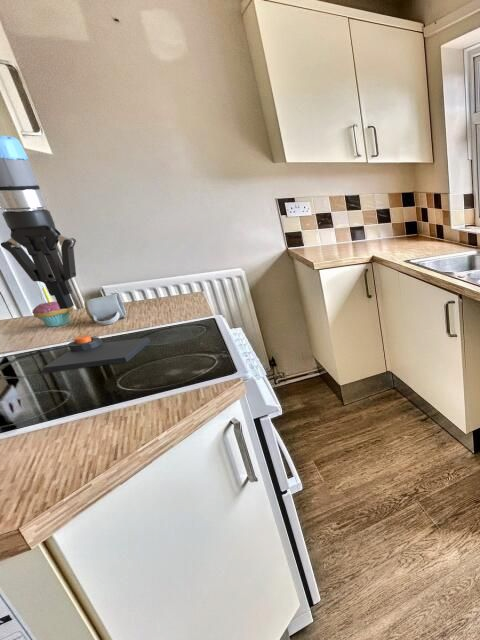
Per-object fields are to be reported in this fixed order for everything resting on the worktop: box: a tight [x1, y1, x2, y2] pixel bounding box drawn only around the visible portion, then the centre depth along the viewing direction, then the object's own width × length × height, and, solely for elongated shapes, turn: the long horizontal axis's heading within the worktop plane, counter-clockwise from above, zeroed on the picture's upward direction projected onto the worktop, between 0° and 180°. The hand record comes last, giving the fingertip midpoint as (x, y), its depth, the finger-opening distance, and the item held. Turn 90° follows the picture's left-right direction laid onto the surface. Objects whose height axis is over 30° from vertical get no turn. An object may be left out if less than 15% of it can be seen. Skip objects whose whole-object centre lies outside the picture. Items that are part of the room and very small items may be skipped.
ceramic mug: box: [84, 293, 127, 326], centre depth 132 cm, size 11×8×8 cm
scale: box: [42, 336, 152, 374], centre depth 108 cm, size 16×15×3 cm
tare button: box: [73, 334, 92, 344], centre depth 109 cm, size 3×3×2 cm
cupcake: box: [31, 285, 74, 328], centre depth 129 cm, size 9×8×12 cm
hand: (67, 307), depth 106 cm, fingers closed
